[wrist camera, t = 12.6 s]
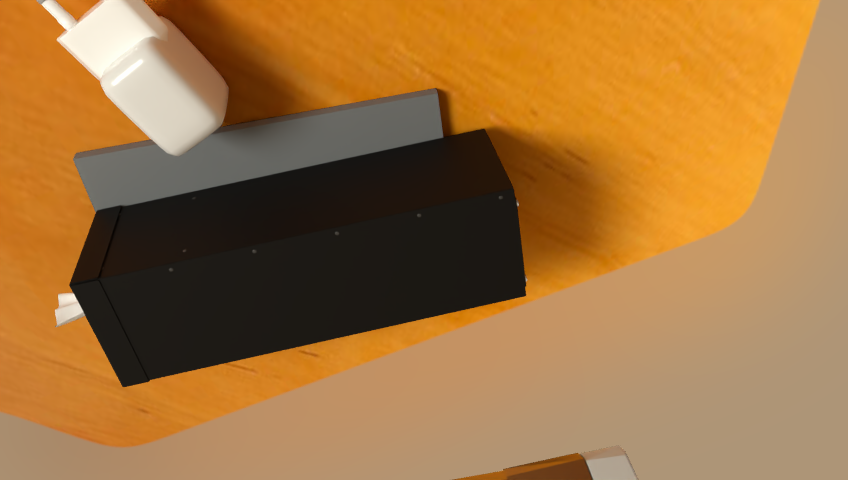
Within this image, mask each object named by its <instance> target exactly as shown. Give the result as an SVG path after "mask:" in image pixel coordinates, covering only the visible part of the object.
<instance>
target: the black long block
mask: <svg viewBox="0 0 848 480" xmlns="http://www.w3.org/2000/svg"><path fill="white" fill-rule="evenodd" d="M517 206H519V205H518V200H516V198H515V195H514V188H513V186H512V184H511V182H510V180H509V178H508V176H507V174H506V172H505V170H504V168H503V165H502V163H501V161H500V159H499V157H498V155H497V153H496V151H495V149H494V147H493V145H492V143H491V141H490V139H489V137H488V135H487V133H486V131H485V129H480V130H476V131H471V132H466V133H462V134H457V135H453V136H448V137H443V138H439V139H434V140H429V141H425V142H420V143H416V144H411V145H406V146H402V147H397V148H392V149H388V150H383V151H379V152H374V153H369V154H365V155H360V156H355V157H351V158H346V159H341V160H337V161H332V162H328V163H323V164H318V165H314V166H309V167H304V168H300V169H295V170H291V171H286V172H281V173H277V174H272V175H267V176H263V177H258V178H253V179H249V180H244V181H240V182H235V183H230V184H226V185H221V186H216V187H212V188H207V189H203V190H198V191H193V192H189V193H184V194H179V195H175V196H170V197H166V198H161V199H156V200H152V201H147V202H142V203H138V204H133V205H128V206H124V207H123V206H121V205H119V206H115V207H110V208H105V209H101V210H97V211H96V214H95V217H94V219H93V222H92V225H91V228H90V230H89V233H88V236H87V238H86V241H85V244H84V247H83V249H82V252H81V255H80V257H79V260H78V263H77V266H76V268H75V271H74V274H73V276H72V279H71V282H70V287H71V289H72V291H73V293H60V294H58V299H59V308H58V309H55V314H56V320H57V326H55V327H59V326H61V325H64V324H67V323H69V322H72V321H74V320H77V319H79V318H81V317H84V316H86V318H87V320H88V322H89V324H90V326H91V327H92V329H93V331H94V333H95V335H96V337H97V339H98V341H99V343H100V345H101V346H102V348H103V350H104V352H105V354H106V356H107V358H108V360H109V362H110V364H111V366H112V367H113V369H114V371H115V373H116V375H117V377H118V379H119V381H120V383H121V385H122V386H123V387H127V386H132V385H136V384H141V383H145V382H149V381H150V380H152V379H156V378H161V377H165V376H170V375H174V374H179V373H183V372H188V371H192V370H197V369H201V368H206V367H210V366H215V365H219V364H224V363H228V362H232V361H237V360H241V359H246V358H250V357H255V356H259V355H264V354H268V353H273V352H277V351H282V350H286V349H291V348H295V347H300V346H304V345H309V344H313V343H318V342H322V341H326V340H331V339H335V338H340V337H344V336H349V335H353V334H358V333H362V332H367V331H371V330H376V329H380V328H385V327H389V326H394V325H398V324H403V323H407V322H412V321H416V320H421V319H425V318H429V317H434V316H438V315H443V314H447V313H452V312H456V311H461V310H465V309H470V308H474V307H479V306H483V305H488V304H492V303H497V302H501V301H506V300H510V299H515V298H519V297H524V296H526V291H525V286H526V281H527V278H526V275H525V271H524V263H523V254H522V245H521V236H520V227H519V218H518V209H517Z"/></svg>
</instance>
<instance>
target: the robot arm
mask: <svg viewBox="0 0 848 480" xmlns="http://www.w3.org/2000/svg"><path fill="white" fill-rule="evenodd" d="M454 480H638V478H637V475H636V473H635V471H634V469H633V467H632V465H631V463H630V461H629V458H628V456H627V454H626V452H625V451H624V450H623V449H622V448H621V447H620V446H614V447H609V448H604V449H599V450H594V451H589V452H584V453H581V454H578V453H575V454H570V455H566V456H561V457H556V458H552V459H547V460H543V461H538V462H533V463H529V464H524V465H520V466H516V467H511V468H506V469H503V471H499V472H493V473H488V474H482V475H477V476H471V477H466V478H460V479H454Z"/></svg>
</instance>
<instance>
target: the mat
mask: <svg viewBox="0 0 848 480" xmlns="http://www.w3.org/2000/svg"><path fill="white" fill-rule="evenodd" d="M439 138H443V131H442V123H441V115H440V108H439V100H438V93H437V90H436V88H434V89H429V90H423V91H417V92H412V93H406V94H401V95H395V96H390V97H384V98H379V99H373V100H368V101H362V102H357V103H351V104H346V105H340V106H334V107H329V108H323V109H318V110H312V111H307V112H301V113H296V114H290V115H285V116H279V117H274V118H268V119H262V120H257V121H251V122H246V123H240V124H235V125H229V126H224V127H219V128H218V129H217V130H216V131H215V132H213V133H212V134H211V135H210V136H208V137H207V138H206V139H204V140H203V141H202V142H200V143H199V144H198V145H196V146H195V147H193V148H192V149H191V150H189V151H188V152H186V153H184V154H183V155H181V156H173V155H170V154H168V153H166V152H165V151H164V150H163V149H162V148H160V147H159V146H158V145H157V144H156V143H155V142H154V141H153V140H146V141H141V142H135V143H130V144H124V145H119V146H113V147H107V148H102V149H96V150H91V151H85V152H80V153H76V154H75V156H74V158H73V160H74V163H75V165H76V167H77V170H78V172H79V174H80V177H81V179H82V181H83V184H84V186H85V188H86V191H87V193H88V195H89V198H90V200H91V202H92V205H93V207H94V210H95V212H96V211H97V210H101V209H105V208H110V207H115V206H119V205H121V206H123V207H124V206H128V205H133V204H138V203H142V202H147V201H152V200H156V199H161V198H166V197H170V196H175V195H179V194H184V193H189V192H193V191H198V190H203V189H207V188H212V187H216V186H221V185H226V184H230V183H235V182H240V181H244V180H249V179H253V178H258V177H263V176H267V175H272V174H277V173H281V172H286V171H291V170H295V169H300V168H304V167H309V166H314V165H318V164H323V163H328V162H332V161H337V160H341V159H346V158H351V157H355V156H360V155H365V154H369V153H374V152H379V151H383V150H388V149H392V148H397V147H402V146H406V145H411V144H416V143H420V142H425V141H429V140H434V139H439Z"/></svg>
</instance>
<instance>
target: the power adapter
mask: <svg viewBox="0 0 848 480" xmlns="http://www.w3.org/2000/svg"><path fill="white" fill-rule="evenodd" d="M36 1H37V2H38V3H39V4H41V5H42V6H43V7H44V8H45V9H46V10H47V11H48V12H50V13H51V14H52V15H53V16H54V17H55V18H56V19H57V20H58V22H59V23H60V24H61V25H62V26H63V27H64V28H65V29H66V30H65V31H64V32H63V33H62V34H61V35H60V36H59V37H58V38H57V41H58V42H59V43H60V44H61V45H62V46H63V47H64V48H65V49H66V50H67V51H69V52H70V53H71V54H72V55H73V56H74V57H75V58H76V59H77V60H78V61H79V62H80V63H81V64H82V65H83V66H84V67H85V68H86V69H87V70H88V71H89V72H90V73H91V74H92V75H93V76H95V77H96V78H97V79H98V80H99V81H100V84H101V86H102V88H103V90H104V92H105V94H106V95H107V96H108V98H109V99H110V100H111V101H112V102H113V103H114V104H115V105H116V106H117V107H118V108H119V109H120V110H121V111H122V112H123V113H124V114H125V115H126V116H127V117H128V118H129V119H131V120H132V121H133V122H134V123H135V124H136V125H137V126H138V127H139V128H140V129H141V130H142V131H143V132H144V133H145V134H146V135H147V136H148V137H149V138H151V139H152V140H153V141H154V142H155V143H156V144H157V145H158V146H159V147H160V148H162V149H163V150H164V151H165V152H166V153H168V154H170V155H173V156H181V155H183V154H184V153H186V152H188V151H189V150H191V149H192V148H193V147H195V146H196V145H198V144H199V143H200V142H202V141H203V140H204V139H206V138H207V137H208V136H210V135H211V134H212V133H213V132H215V131H216V130H217V129H218V128H219V127H220V126H221V125H222V123H223V120H224V117H225V114H226V109H227V102H228V94H229V88H228V86H227V84H226V82H225V80H224V79H223V77H222V76H221V75H220V74H219V73H218V71H217V70H216V69H215V68H214V67H213V66H212V65H211V63H210V62H209V61H208V60H207V59H206V58H205V57H204V56H203V55H202V54H201V53H200V52H199V50H198V49H197V48H196V47H195V46H194V45H193V44H192V43H191V42H190V41H189V40H188V39H187V38H186V36H185V35H184V34H183V33H182V32H181V31H180V30H179V29H178V28H177V27H176V26H175V25H174V24H173V23H172V22H171V21H170V20H168V19H166V18H164V17H162V16H157V15H156V14H155V13H154V11H153V10H152V9H151V8H150V7H149V6H148V5H147V4H146V3H145V2H144V1H143V0H100V1H99V2H98V3H97V4H96V5H94V6H93V7H92V8H91V9H90V10H88V11H87V12H86V13H85V14H84V15H82V16H81V17H80V18H79V19H78V20H76V19H75V18H74V17H73V16H72V15H71V14H70V13H69V12H67V11H66V10H65V9H64V8H63V7H61V6H60V5H59V4H58V3H57V2H56V1H55V0H36Z"/></svg>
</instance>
